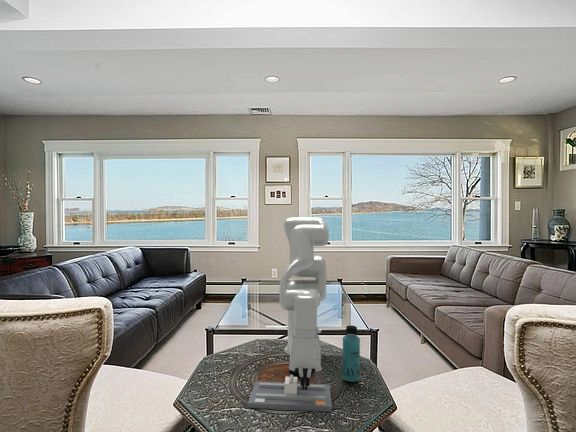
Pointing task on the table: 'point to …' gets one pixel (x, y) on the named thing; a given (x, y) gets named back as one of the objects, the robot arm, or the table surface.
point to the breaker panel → (290, 397)
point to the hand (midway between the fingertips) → (304, 387)
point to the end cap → (296, 372)
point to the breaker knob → (290, 385)
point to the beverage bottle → (351, 355)
